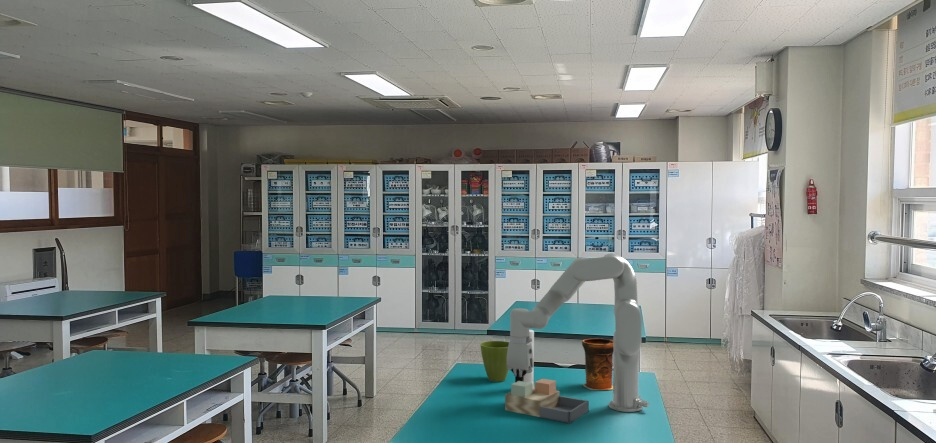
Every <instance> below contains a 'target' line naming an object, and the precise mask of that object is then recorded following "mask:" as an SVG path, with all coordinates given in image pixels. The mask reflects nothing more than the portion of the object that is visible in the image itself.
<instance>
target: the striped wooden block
mask: <svg viewBox="0 0 936 443" xmlns="http://www.w3.org/2000/svg"><path fill="white" fill-rule="evenodd" d="M559 396H560V390H557V389H556V391H555V392H553V393H551V394H550V395H547V394H542V393H536V392H535V385H534V386H533V394H531V395H529V396H527V397H521V396H515V395H511V391H509V392H508V393H505V395H504V399H505V400H504V411H508V412H513V413H517V414H521V415H522V414H524V415H527V416H533V417H538V418H540V406H542V407H547V408H553V409H554V408H555V407H557V406H559Z"/></svg>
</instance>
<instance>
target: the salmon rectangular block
mask: <svg viewBox="0 0 936 443" xmlns="http://www.w3.org/2000/svg"><path fill="white" fill-rule="evenodd" d="M534 387H535V392H536V393H542V394H547V395H550V394H551V393H553V392H555V391H556V390H557V380H553V379H548V378H541V379H539V380H536V381H534Z"/></svg>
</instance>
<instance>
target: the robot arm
mask: <svg viewBox="0 0 936 443" xmlns="http://www.w3.org/2000/svg"><path fill="white" fill-rule="evenodd" d="M636 277H637V276H636V273H635V270H634V269H633V267H632V265H631V264H630V263H629V261H627V260H626V259H625V258H623V257H622V256H621V255H618V254H617V253H613V252H611V253H606V254H605V255H604V256H601V257H600V256H599V257H593V258H586V257H583V256H582V257H577V258H575V259H574V260H573V261H572V262H571V263H570V264H569V266H568V267H567V268H566V269H565V270H564V271H563V273H562V274H561V275H560V276H559V278H558V279H557V280H556V281H555V282H554V283H553V285H552V286H551V287H550V288H549V290H548V291H547V293H545V295H544V296H543V297H542V298H541V299H540V300H539V301H538V302H537V304H536V305H535V306H534V307H533V309H532V310H529V309H527V308H523V307H522V308H519V307H518V308H512V309H511V310H510V312H509V315H510V316H509V318H510V320H509V322H510V326H509V329H510V330H509V332H510V333H509V338H510V339H509V340H510V341H508V342H509V345H508V350H507V369H508V370H509V371H510V372H512V373H513V376H514V378H515V380H514V383H515V382H517V381H523V382H524V376H525V374H526V373H531V372H532V368H533V351H532V346H531V344H530V342H532V339H531V338H530V336H529V330H530V329H532V330H533V329H534V330H542V329H544V328H546V327H547V325H548V324H549V320H550V319H551V317H552V316H553V315H554V314H555V313H556V312H557V311H558V309H559V308H560V307H561V306H563V305H564V304H565V303H566V302H568V301H569V300H571V299H572V298H573V296H574V295H575V294H576V293H577V292H578V290H580V288H581V287H582V286H583V285H584V284H585V282H591V281H592V282H593V281H600V280H609V279H612V280H613V286H614V287H613V288H614V307H613V308H614V309H613V314H614V320H615V321H614V322H615V329H614V332H613V333H614V334H613V337H612V340H613V368H612V385H613V389H612V390H613V391H612V400H611V401H609V403H608V406H609V408H610V409H612V410H615V411H618V412H624V413H635V412H639V411H641V410H643V407H644V408H649V406H650V403H649V401H648V400H642V397H641V395H639V376H640V375H639V369H640V367H639V365H640V363H639V362H640V356H639V354H640V353H639V352H640V350H641V347H642V337H643V336H642V335H643V332H642V312H641V309H640V306H639V304H638V285H637V284H638V283H637V278H636ZM519 369H520V371H519Z"/></svg>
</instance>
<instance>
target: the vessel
mask: <svg viewBox="0 0 936 443" xmlns="http://www.w3.org/2000/svg"><path fill="white" fill-rule="evenodd" d="M581 346H582V347H583V350H584V360H585V362H584V363H585V364H584V365H585V366H584V370H585V383H583V384H582V386H583V387H584V388H587V389H588V390H591V391H594V390H595V391H603V390H605V391H607V390H608V391H609V390H613V366H614V362H613V360H614V351H613V339H608V338H602V337H601V338H599V337H594V338H586V339H583V340H582V341H581Z"/></svg>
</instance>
